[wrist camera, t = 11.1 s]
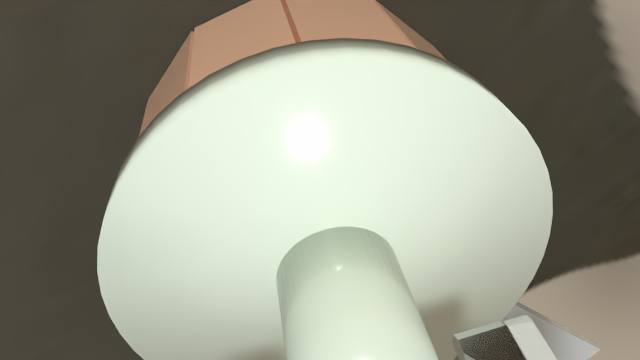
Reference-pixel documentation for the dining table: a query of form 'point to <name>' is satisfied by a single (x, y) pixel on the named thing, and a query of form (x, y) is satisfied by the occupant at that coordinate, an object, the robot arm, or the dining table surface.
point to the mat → (557, 335)
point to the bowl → (274, 37)
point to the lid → (323, 210)
